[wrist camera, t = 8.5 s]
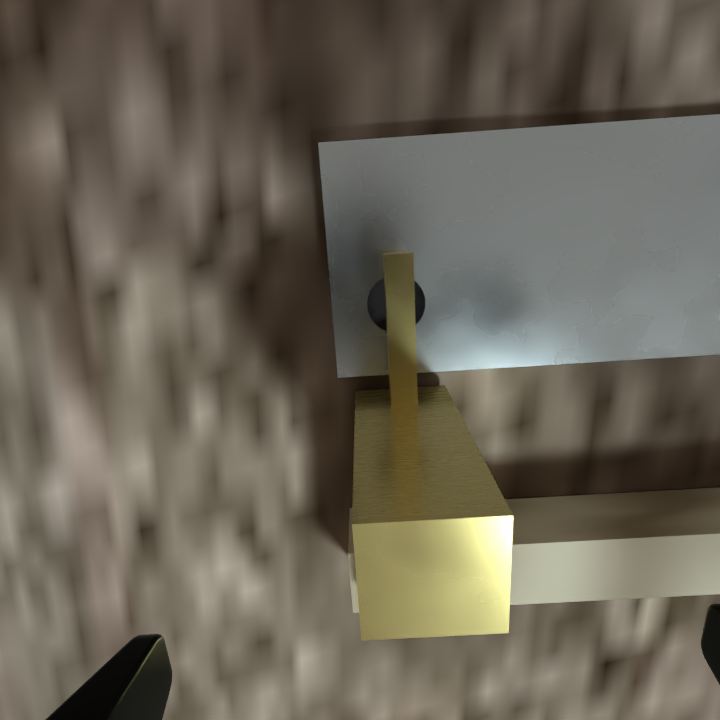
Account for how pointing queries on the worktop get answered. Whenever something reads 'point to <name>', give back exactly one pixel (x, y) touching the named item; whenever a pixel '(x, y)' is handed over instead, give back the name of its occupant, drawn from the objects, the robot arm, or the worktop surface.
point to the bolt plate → (529, 243)
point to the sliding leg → (423, 500)
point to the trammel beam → (609, 546)
